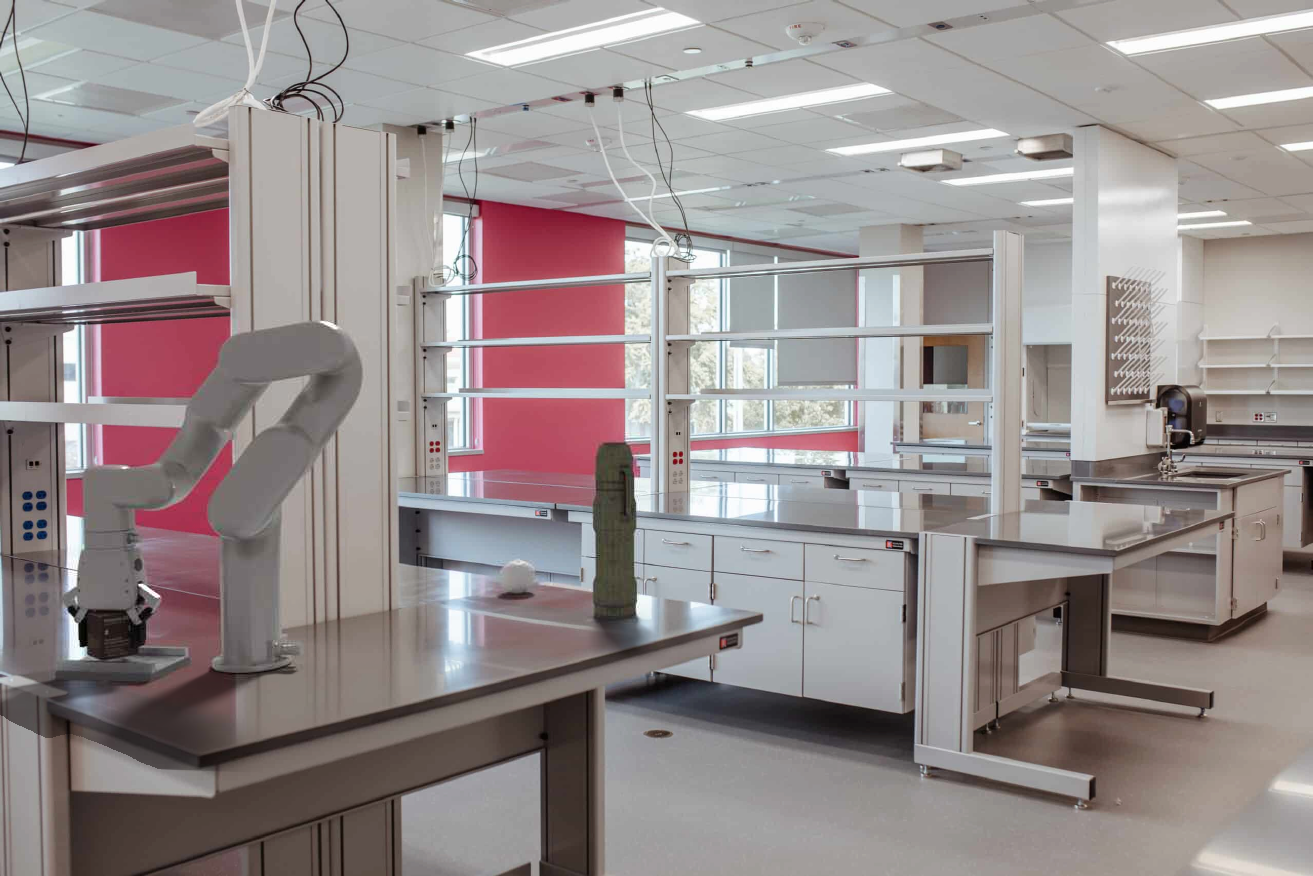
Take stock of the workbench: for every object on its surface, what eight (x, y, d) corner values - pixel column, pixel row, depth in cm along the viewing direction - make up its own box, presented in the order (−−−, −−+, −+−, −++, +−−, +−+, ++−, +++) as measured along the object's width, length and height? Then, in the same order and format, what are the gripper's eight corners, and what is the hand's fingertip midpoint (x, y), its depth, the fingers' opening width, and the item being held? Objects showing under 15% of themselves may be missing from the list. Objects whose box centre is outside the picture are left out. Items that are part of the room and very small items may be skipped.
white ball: (532, 589, 252) (532, 555, 251) (538, 595, 245) (537, 560, 244) (497, 591, 250) (497, 557, 249) (502, 597, 242) (501, 562, 242)
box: (101, 662, 177) (100, 616, 176) (86, 656, 181) (84, 611, 180) (139, 655, 181) (138, 610, 181) (124, 649, 185) (123, 605, 185)
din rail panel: (190, 662, 186) (189, 646, 186) (150, 682, 174) (149, 664, 174) (100, 660, 187) (100, 644, 187) (55, 679, 176) (54, 662, 175)
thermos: (612, 607, 231) (611, 441, 229) (650, 616, 222) (649, 443, 221) (579, 613, 225) (578, 442, 223) (617, 622, 216) (616, 444, 215)
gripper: (172, 538, 183) (175, 642, 184) (74, 536, 184) (77, 639, 185) (147, 544, 175) (149, 653, 176) (45, 543, 177) (48, 650, 178)
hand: (112, 645), depth 181 cm, fingers closed on box, 8 cm apart
